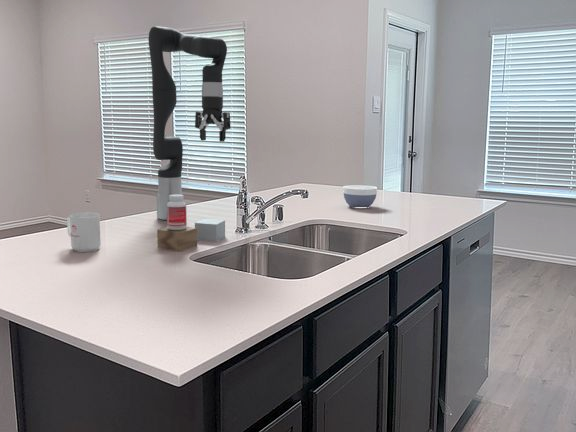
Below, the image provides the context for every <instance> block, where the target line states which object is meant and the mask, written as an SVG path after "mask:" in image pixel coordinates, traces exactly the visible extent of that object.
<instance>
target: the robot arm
mask: <svg viewBox="0 0 576 432" xmlns="http://www.w3.org/2000/svg"><path fill="white" fill-rule="evenodd" d="M226 43H227V42H225V40H224V39H222V38H219V37H218V38H215V37H208V36H202V35H199V34H197V35H196V34H186V33H182V32H181V31H178V30H177V29H174V28H171V27H166V26H157V25H155V26H151V28H150V29H149V32H148V50H149V56H150V58H149V59H150V63H151V64H150V65H151V66H150V67H151V78H152V79H151V81H152V83H151V84H152V86H151V87H152V106H153V107H152V108H153V134H152V136H153V137H152V141H153V142H152V150H153V154H154V158H155V159H156V160H159V161H164V160H165V161H168V160H169V163H168V164H167V165H165V166H164V167H161V168H159V169H158V171H157V184H158V187H157V188H158V190H157V191H158V194H156V218H157V219H159V220H163V221H167V203H168V202H170V200H169V195H174V194H180V195H183V194H182V193H183V192H182V171H183V154H184V151H183V149H184V148H183V141H182V140H181V138H180V137H179V136H165V131H166V127H167V123H168V121H169V119H170V117H171V115H172V113H173V111H174V110H175V108H176V106H177V100H178V99H177V86H176V83H175V80H174V79H173V77H172V76H171V74H170V72H169V71H168V69H167V68H168V67H167V66H166V63H165V59H164V53H174V52H184V53H186V54H187V55H192V56H197V57H200V58H204V59H212V60H211V63H210V64H208V65H204V66H203V68H202V77H201V78H202V79H201V80H202V81H201V82H202V83H201V108H202V111H196V112H195V118H194V121H195V122H194V127H195V128H196V129H198V130H199V139H200V141H206V140H207V139H206V138H207V127H208V126H210V125H216V127H217V128H218V130H219V131H218V133H219V135H218V137H219V138H218V139H219V142H225V140H226V133H227V132H226V131H227V130H230V129H231V112H229V111H227V112H226V111H225V112H223V109H224V88H223V70H224V66H225V62H226V57H227V54H228V47H227V46H228V45H227V44H226Z"/></svg>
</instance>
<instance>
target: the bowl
mask: <svg viewBox="0 0 576 432" xmlns="http://www.w3.org/2000/svg"><path fill="white" fill-rule="evenodd" d="M342 191H343V198H344V200H345V202H346V204H347V205H348V206H349V207H350V206H351V207H369V208H370V207H371V205H372V204H374V201H376V198H377V194H378V187H377V186H374V185H366V184H365V185H364V184H348V185H347V184H346V185H343V186H342ZM351 207H350V208H351Z"/></svg>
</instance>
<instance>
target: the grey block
mask: <svg viewBox="0 0 576 432" xmlns="http://www.w3.org/2000/svg"><path fill="white" fill-rule="evenodd" d="M194 228H197V241H203V242H216V243H217V242H219V241H221V240H222V239H224V238H226V220H225V219H213V218H212V219H211V218H203V219H200V220H198V221H196V222H194Z"/></svg>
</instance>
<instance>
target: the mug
mask: <svg viewBox="0 0 576 432" xmlns="http://www.w3.org/2000/svg"><path fill="white" fill-rule="evenodd" d="M100 220H101V217H100V213H97V212H76V213H72V214H70V215H69V217H66V227H67V234H68V236H69V237H70V247H71V249H72V250H74V251H75V252H76V253H77V252H78V253H89V252H90V253H91V252H95V251H98V249H99V248H101V244H102V243H101V241H102V240H101V221H100Z"/></svg>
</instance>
